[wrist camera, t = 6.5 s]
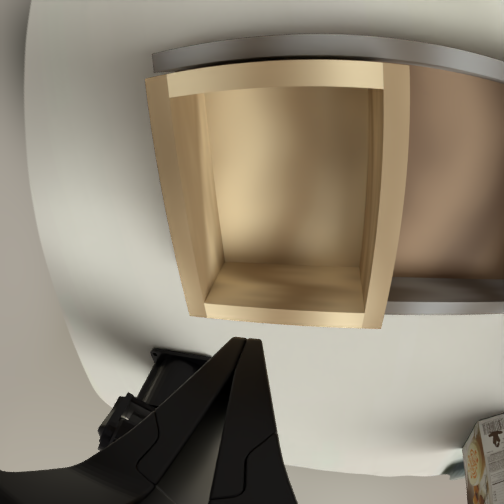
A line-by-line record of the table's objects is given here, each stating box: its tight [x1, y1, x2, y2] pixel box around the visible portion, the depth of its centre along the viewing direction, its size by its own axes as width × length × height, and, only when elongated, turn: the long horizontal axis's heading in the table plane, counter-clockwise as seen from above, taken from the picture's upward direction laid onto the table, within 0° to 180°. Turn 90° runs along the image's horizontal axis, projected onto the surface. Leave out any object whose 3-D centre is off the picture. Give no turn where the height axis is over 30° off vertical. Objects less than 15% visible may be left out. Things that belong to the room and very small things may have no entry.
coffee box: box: [462, 413, 504, 504], centre depth 22 cm, size 9×6×16 cm
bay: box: [152, 34, 504, 315], centre depth 14 cm, size 22×15×6 cm, turn 95°
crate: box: [145, 60, 410, 329], centre depth 15 cm, size 10×12×5 cm
